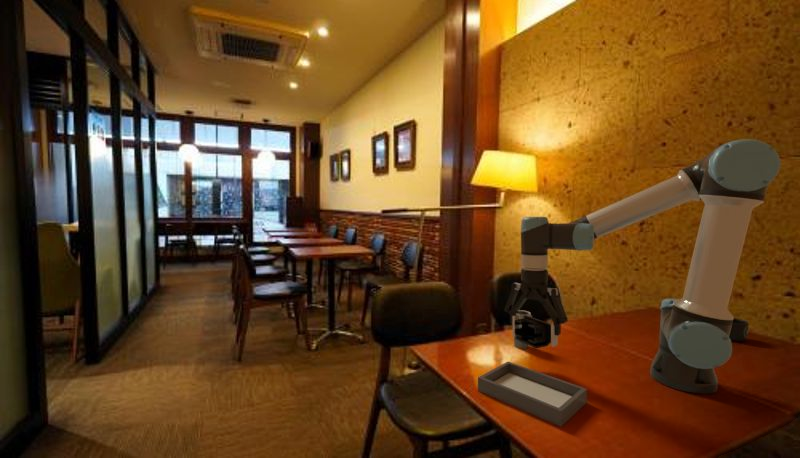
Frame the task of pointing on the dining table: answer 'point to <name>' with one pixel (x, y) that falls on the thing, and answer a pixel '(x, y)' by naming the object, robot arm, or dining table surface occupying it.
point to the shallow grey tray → (533, 392)
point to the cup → (521, 316)
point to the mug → (739, 330)
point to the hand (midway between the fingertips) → (534, 340)
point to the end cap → (533, 332)
